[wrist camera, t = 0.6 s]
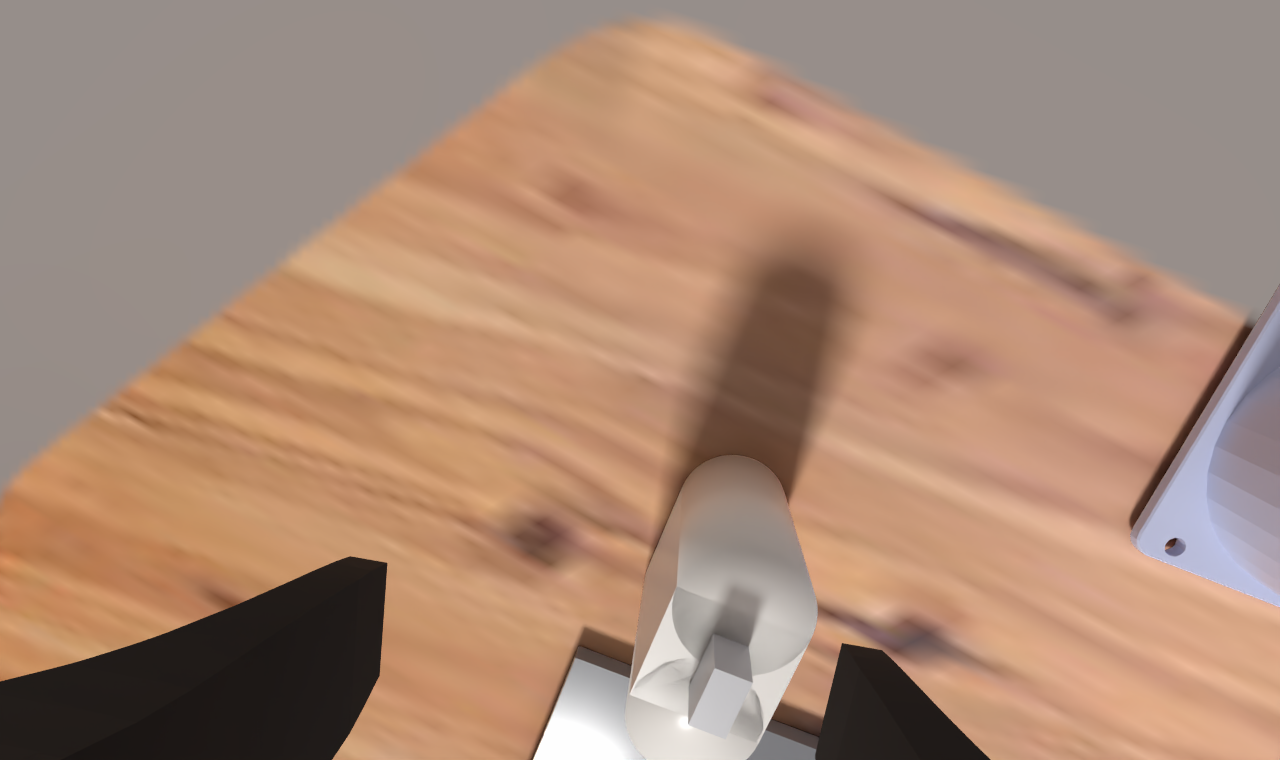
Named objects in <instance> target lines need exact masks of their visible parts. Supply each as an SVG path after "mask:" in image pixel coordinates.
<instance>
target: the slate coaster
mask: <svg viewBox="0 0 1280 760" xmlns="http://www.w3.org/2000/svg"><path fill="white" fill-rule="evenodd" d="M631 667H632V666H631V665H628V664H625V663H623V662H620V661H618V660H615V659H612V658H610V657H607V656H604V655H602V654H599V653H597V652H594V651H591V650H589V649H586V648H584V647H581V646H578V649H577V651H576V654H575V656H574V659H573V661H572V663H571V666H570V668H569V671H568V673H567V676H566V678H565V681H564V683H563V685H562V688H561V690H560V693H559V695H558V698H557V700H556V703H555V705H554V707H553V710H552V712H551V715H550V717H549V720H548V722H547V725H546V727H545V729H544V732H543V734H542V737H541V739H540V742H539V744H538V747H537V749H536V751H535V754H534V756H533V759H532V760H646V759H645V758H644V757H643V756H642V755H641V754H640V753H639V751H638V750H637V749H636V747H635V746H634V744H633V743H632V741H631V739H630V736H629V734H628V731H627V727H626V721H625V709H626V702H627V695H628V688H629V681H630V674H631ZM818 741H819V737H817V736H814V735H811V734H809V733H806V732H804V731H801V730H798V729H796V728H793V727H790V726H788V725H785V724H783V723H780V722H777V721H775V720H772V719H771V720H770V722H769V724H768V726H767V728H766V730H765V732H764V734H763V736H762V738H761V740H760V742H759V744H758V745H757V747H756V749H755V750H754V752H753V753H752V754H751V755H750V757H749V758H748V759H746V760H815V753H816V749H817V745H818Z"/></svg>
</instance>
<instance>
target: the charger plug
mask: <svg viewBox="0 0 1280 760" xmlns="http://www.w3.org/2000/svg"><path fill="white" fill-rule="evenodd" d="M817 614H818V612H817V602H816V596H815V593H814V590H813V586H812V583H811V580H810V576H809V573H808V570H807V566H806V563H805V560H804V556H803V553H802V549H801V546H800V543H799V539H798V536H797V533H796V529H795V526H794V523H793V519H792V516H791V513H790V509H789V506H788V502H787V499H786V496H785V492H784V490H783V487H782V485H781V483H780V481H779V479H778V478H777V476H776V475H775V474H774V473H773V472H772V471H771V470H770V469H769V468H768V467H767V466H766V465H764V464H762V463H761V462H759V461H757V460H755V459H752V458H749V457H746V456H741V455H724V456H718V457H715V458H712V459H710V460H708V461H705V462H704V463H702V464H701V465H699V466H698V467H697V468H695V469H694V470H693V471H692V472H691V473H690V475H689V476H688V477H687V479H686V480H685V482H684V484H683V486H682V488H681V491H680V493H679V495H678V498H677V500H676V502H675V505H674V507H673V510H672V512H671V514H670V517H669V519H668V521H667V524H666V526H665V528H664V531H663V533H662V535H661V538H660V540H659V543H658V545H657V547H656V550H655V552H654V554H653V557H652V559H651V561H650V564H649V566H648V569H647V571H646V574H645V578H644V583H643V590H642V597H641V604H640V611H639V618H638V625H637V632H636V639H635V646H634V653H633V660H632V667H631V674H630V681H629V688H628V695H627V702H626V709H625V721H626V727H627V731H628V734H629V736H630V739H631V741H632V743H633V744H634V746H635V747H636V749H637V750H638V751H639V753H640V754H641V755H642V756H643V757H644V758H645V759H646V760H746V759H748V758H749V757H750V755H751V754H752V753H753V752H754V750H755V749H756V747H757V745H758V744H759V742H760V740H761V738H762V736H763V734H764V732H765V730H766V728H767V726H768V724H769V722H770V720H771V718H772V716H773V714H774V712H775V710H776V708H777V706H778V704H779V702H780V700H781V698H782V696H783V694H784V692H785V690H786V688H787V686H788V684H789V682H790V680H791V678H792V676H793V674H794V672H795V670H796V668H797V666H798V664H799V662H800V660H801V658H802V656H803V654H804V652H805V650H806V648H807V646H808V644H809V642H810V640H811V638H812V635H813V633H814V631H815V627H816V623H817Z"/></svg>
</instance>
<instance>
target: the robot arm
mask: <svg viewBox="0 0 1280 760" xmlns="http://www.w3.org/2000/svg"><path fill="white" fill-rule="evenodd" d="M1130 537H1131V542H1132V544H1133V545H1134V547H1135V548H1137V549H1138V550H1139V551H1140V552H1142V553H1143V554H1145V555H1147V556H1149V557H1152V558H1154V559H1157V560H1159V561H1162V562H1165V563H1167V564H1170V565H1172V566H1175V567H1177V568H1180V569H1183V570H1185V571H1188V572H1190V573H1193V574H1195V575H1198V576H1201V577H1203V578H1206V579H1208V580H1211V581H1214V582H1216V583H1219V584H1221V585H1224V586H1226V587H1229V588H1232V589H1234V590H1237V591H1239V592H1242V593H1244V594H1247V595H1250V596H1252V597H1255V598H1257V599H1260V600H1262V601H1265V602H1268V603H1270V604H1273V605H1275V606H1278V607H1280V285H1279V286H1278V288H1277V290H1276V291H1275V293H1274V295H1273V296H1272V298H1271V300H1270V301H1269V303H1268V304H1267V306H1266V308H1265V309H1264V311H1263V313H1262V314H1261V316H1260V318H1259V319H1258V321H1257V323H1256V324H1255V326H1254V328H1253V329H1252V331H1251V333H1250V334H1249V336H1248V338H1247V339H1246V341H1245V343H1244V344H1243V346H1242V348H1241V349H1240V351H1239V353H1238V354H1237V356H1236V357H1235V359H1234V361H1233V362H1232V364H1231V366H1230V367H1229V369H1228V371H1227V372H1226V374H1225V376H1224V377H1223V379H1222V381H1221V382H1220V384H1219V386H1218V387H1217V389H1216V391H1215V392H1214V394H1213V396H1212V397H1211V399H1210V401H1209V402H1208V404H1207V406H1206V407H1205V409H1204V410H1203V412H1202V414H1201V415H1200V417H1199V419H1198V420H1197V422H1196V424H1195V425H1194V427H1193V429H1192V430H1191V432H1190V434H1189V435H1188V437H1187V439H1186V440H1185V442H1184V444H1183V445H1182V447H1181V449H1180V450H1179V452H1178V454H1177V455H1176V457H1175V459H1174V460H1173V462H1172V463H1171V465H1170V467H1169V468H1168V470H1167V472H1166V473H1165V475H1164V477H1163V478H1162V480H1161V482H1160V483H1159V485H1158V487H1157V488H1156V490H1155V492H1154V493H1153V495H1152V497H1151V498H1150V500H1149V502H1148V503H1147V505H1146V507H1145V508H1144V510H1143V512H1142V513H1141V515H1140V516H1139V518H1138V520H1137V521H1136V523H1135V525H1134V526H1133V528H1132V531H1131V534H1130ZM1173 538H1176V539H1177V540H1176V543H1175V545H1174V546H1173V547H1172V548H1170V549H1167V550H1165V549H1164V548H1165V545H1166V543H1167V542H1168V541H1169V540H1170V539H1173ZM386 574H387V563H384V562H379V561H373V560H367V559H362V558H356V557H347V558H344V559H341V560H339V561H336V562H333V563H331V564H329V565H326V566H324V567H321V568H319V569H317V570H315V571H312V572H310V573H308V574H306V575H303V576H301V577H299V578H297V579H294V580H292V581H290V582H288V583H285V584H283V585H281V586H279V587H276V588H274V589H272V590H270V591H267V592H265V593H263V594H261V595H258V596H256V597H254V598H251V599H249V600H247V601H245V602H242V603H240V604H238V605H235V606H233V607H230V608H228V609H225V610H223V611H220V612H218V613H215V614H213V615H210V616H208V617H205V618H203V619H200V620H198V621H195V622H193V623H190V624H188V625H185V626H183V627H180V628H178V629H175V630H173V631H170V632H168V633H165V634H162V635H159V636H156V637H154V638H151V639H148V640H145V641H142V642H139V643H136V644H133V645H130V646H127V647H124V648H121V649H118V650H115V651H111V652H108V653H105V654H102V655H99V656H95V657H92V658H89V659H86V660H82V661H79V662H75V663H72V664H68V665H64V666H60V667H56V668H53V669H49V670H45V671H41V672H37V673H33V674H29V675H25V676H21V677H17V678H13V679H9V680H5V681H1V682H0V760H332V759H333V757H334V756H335V754H336V753H337V751H338V750H339V748H340V747H341V745H342V744H343V742H344V741H345V739H346V738H347V736H348V735H349V733H350V732H351V730H352V728H353V726H354V724H355V722H356V720H357V719H358V717H359V715H360V713H361V711H362V709H363V707H364V705H365V703H366V701H367V699H368V697H369V695H370V693H371V691H372V689H373V687H374V685H375V683H376V681H377V679H378V677H379V675H380V661H381V646H382V632H383V617H384V603H385V589H386ZM815 760H990V759H989V758H988V757H987V756H986V755H985V754H984V753H983V752H982V751H981V750H980V749H979V748H978V747H977V746H976V745H975V744H974V743H973V742H972V741H971V740H970V739H969V738H968V737H967V736H966V735H965V734H964V733H963V732H962V731H961V730H960V729H959V728H958V727H957V726H956V725H955V724H954V723H953V722H952V721H951V720H950V719H949V718H948V717H947V716H946V715H945V714H944V713H943V712H942V711H941V710H940V709H939V708H938V707H937V706H936V705H935V704H934V703H933V701H932V700H931V699H930V698H929V697H928V696H927V695H926V694H925V693H924V692H923V691H922V690H921V689H920V688H919V687H918V686H917V685H916V684H915V683H914V682H913V681H912V679H911V678H910V677H909V676H908V675H907V674H906V673H905V672H904V671H903V670H902V669H901V668H900V667H899V666H898V665H897V664H896V663H895V662H894V661H893V660H892V659H891V658H890V657H889V656H888V655H887V654H885V653H884V652H883V651H882V650H877V649H872V648H866V647H860V646H855V645H849V644H843V643H842V646H841V650H840V654H839V658H838V662H837V666H836V670H835V675H834V679H833V683H832V687H831V691H830V695H829V699H828V704H827V708H826V712H825V716H824V720H823V724H822V728H821V733H820V737H819V741H818V745H817V749H816V753H815Z"/></svg>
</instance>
